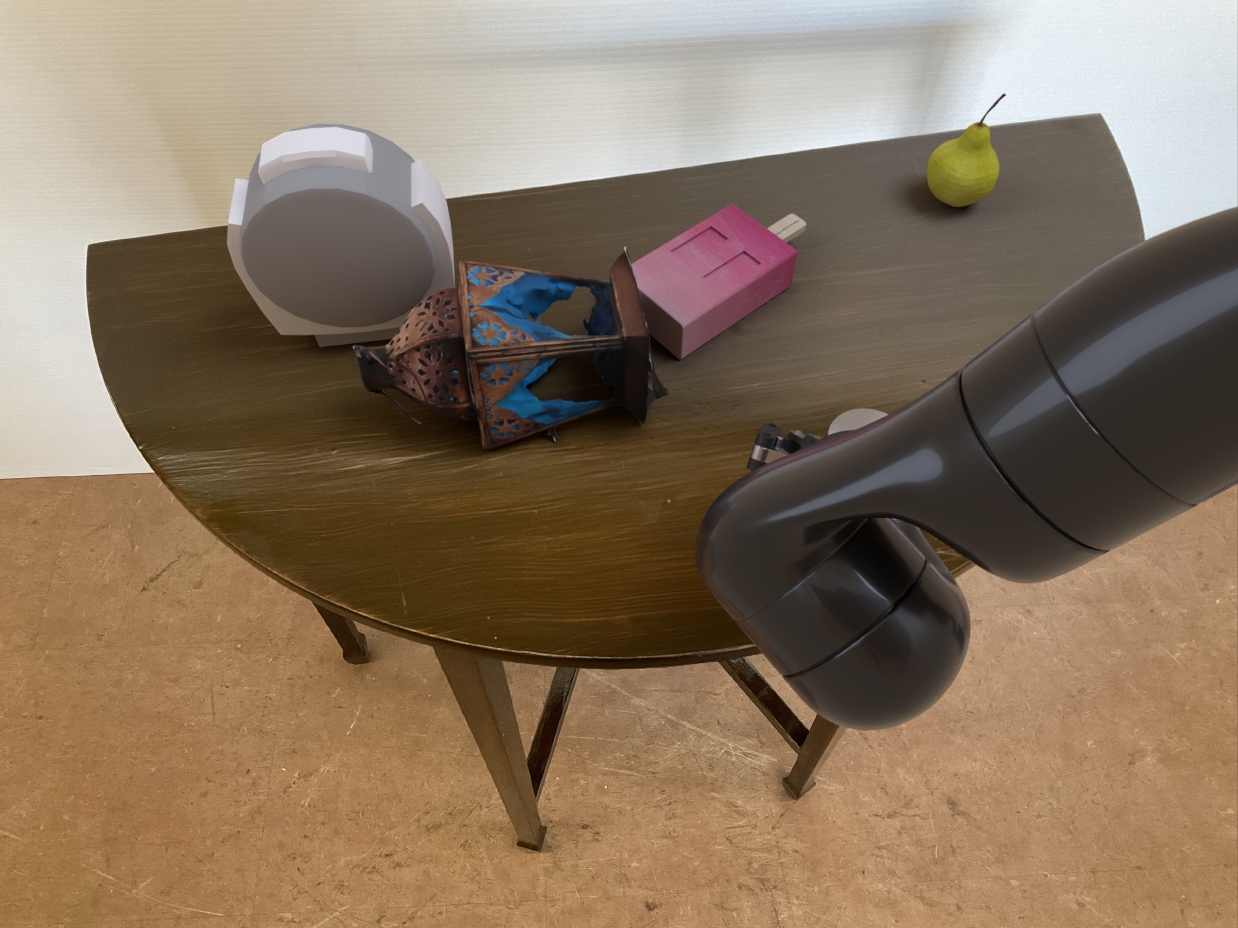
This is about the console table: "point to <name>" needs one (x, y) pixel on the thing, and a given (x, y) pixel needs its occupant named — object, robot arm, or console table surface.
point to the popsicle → (714, 276)
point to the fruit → (964, 166)
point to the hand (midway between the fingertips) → (861, 462)
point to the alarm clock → (339, 234)
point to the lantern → (514, 350)
